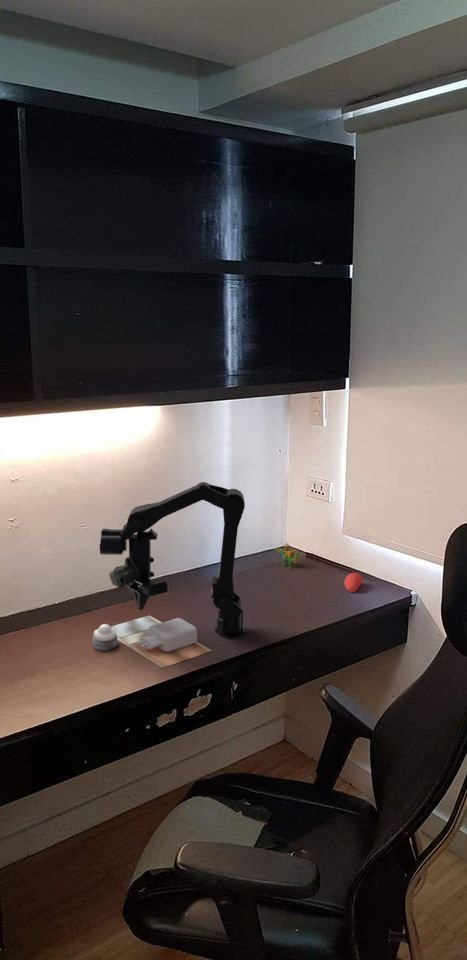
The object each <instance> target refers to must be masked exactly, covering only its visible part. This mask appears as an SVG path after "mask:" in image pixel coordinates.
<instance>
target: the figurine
mask: <svg viewBox="0 0 467 960" xmlns="http://www.w3.org/2000/svg"><path fill="white" fill-rule="evenodd" d="M289 546H290V545H289V543H285V545H284V549H282V548H281V547H280V548H278V547H276V548H274V550H275V551H277V552H278V553H279V554H281V555H282V556H281V557H282V565H283V567H288V566H289V567H290V569H291V570H292V569H293V568H294V569H295V568H296V566H295V564H297V563H300V561H299V560H300V559H301V556H300V552H299V551H297V550H296V549H291V547H289ZM285 563H286V564H285Z"/></svg>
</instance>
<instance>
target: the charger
mask: <svg viewBox="0 0 467 960" xmlns="http://www.w3.org/2000/svg"><path fill="white" fill-rule="evenodd" d="M140 640H141V642H139V643H137V645H138V644H143V645H141V647H143V646H145V647H147V648H148V649H150V648H154V647H158V648H160V649H161V650H163V651H166V652H170V651H173V650H176V649H179V648H182V647H185V646H188V645H191V644H194V643H196V642H198V629H197V628H196V626H195V625H193V624H191V623H189V622H188V621H186V620H185V619H182V618H180V617H176V618H173V619H170V620H167V621H164V622H162V623H160V624H156V625H153V626H150V628H149V636H147V637H144V638H141V639H140Z"/></svg>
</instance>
